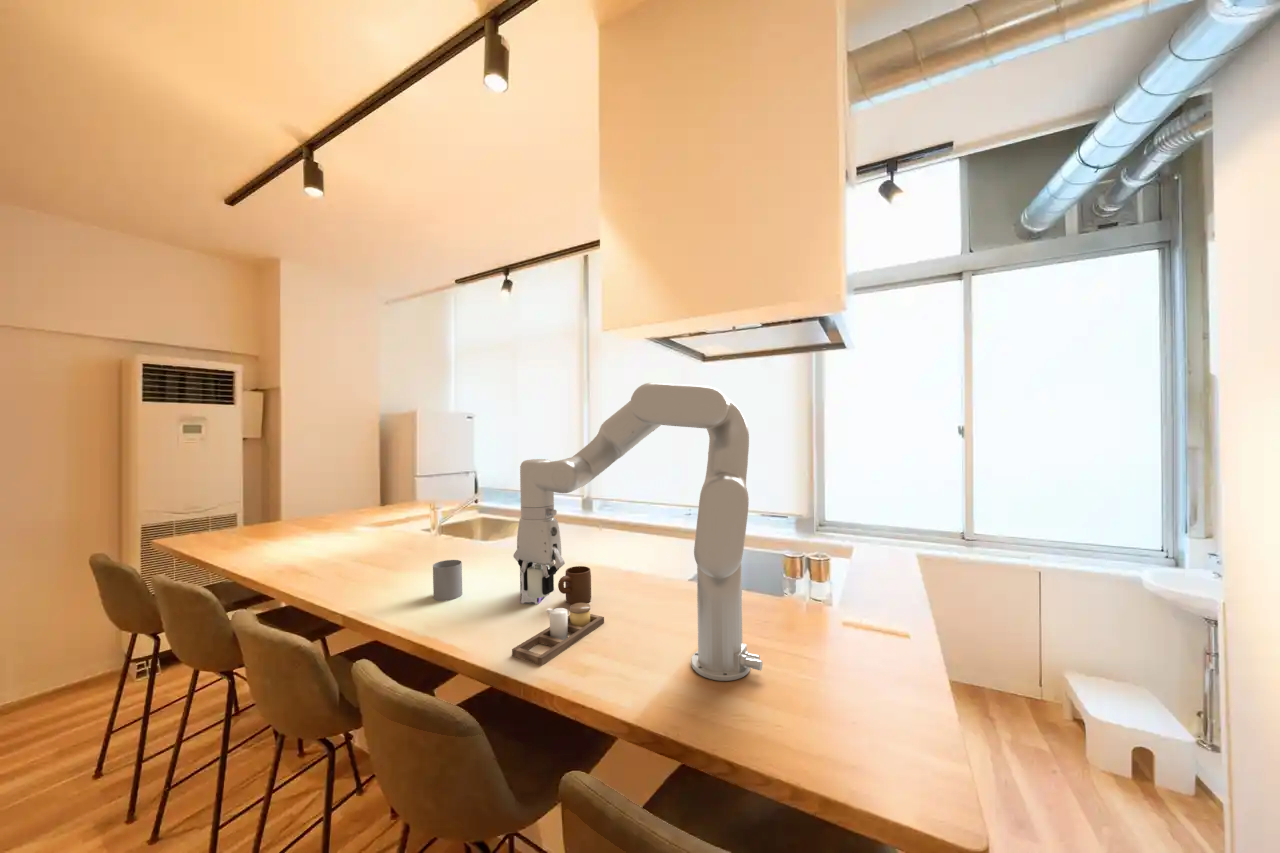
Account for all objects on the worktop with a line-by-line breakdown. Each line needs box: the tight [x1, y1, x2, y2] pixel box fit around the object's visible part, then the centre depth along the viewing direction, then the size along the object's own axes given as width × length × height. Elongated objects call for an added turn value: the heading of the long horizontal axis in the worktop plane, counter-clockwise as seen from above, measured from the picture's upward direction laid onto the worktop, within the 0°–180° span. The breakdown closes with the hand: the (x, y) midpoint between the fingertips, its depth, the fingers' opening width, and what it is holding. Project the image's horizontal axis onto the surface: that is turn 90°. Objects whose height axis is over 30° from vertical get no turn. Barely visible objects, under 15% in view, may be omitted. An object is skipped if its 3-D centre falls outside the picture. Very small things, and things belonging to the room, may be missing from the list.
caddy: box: [511, 613, 605, 666], centre depth 115 cm, size 9×24×2 cm, turn 150°
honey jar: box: [569, 602, 591, 627], centre depth 122 cm, size 5×5×5 cm
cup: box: [432, 559, 463, 602], centre depth 145 cm, size 8×8×10 cm
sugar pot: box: [527, 564, 551, 598], centre depth 108 cm, size 5×5×7 cm
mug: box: [557, 565, 592, 606], centre depth 137 cm, size 12×8×9 cm, turn 147°
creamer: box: [546, 607, 569, 640], centre depth 116 cm, size 6×4×6 cm
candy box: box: [519, 563, 550, 605], centre depth 144 cm, size 14×6×16 cm, turn 172°
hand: (538, 590), depth 108 cm, fingers closed on sugar pot, 5 cm apart
